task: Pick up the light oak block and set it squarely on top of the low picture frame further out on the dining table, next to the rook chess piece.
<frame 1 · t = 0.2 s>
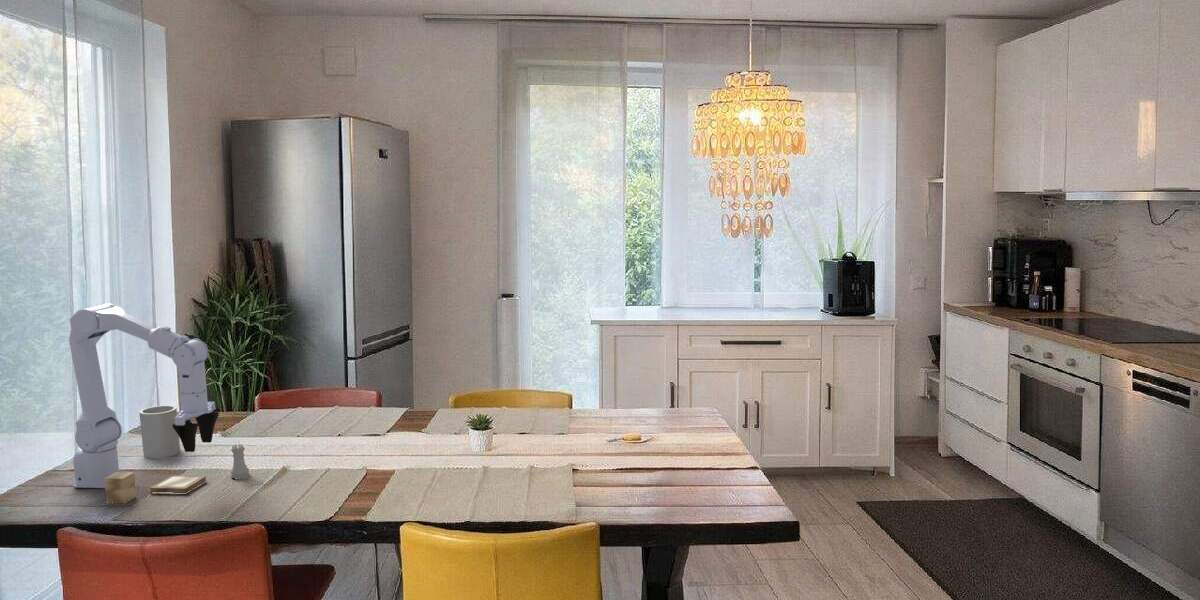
hand: (198, 446, 242), 10 cm above the table, tool pointing down, fingers open, 7 cm apart
rook chess piece: (240, 477, 250), on the table
oak block: (121, 500, 236), on the table
picture frame: (178, 487, 243), on the table
cup: (162, 453, 273), on the table
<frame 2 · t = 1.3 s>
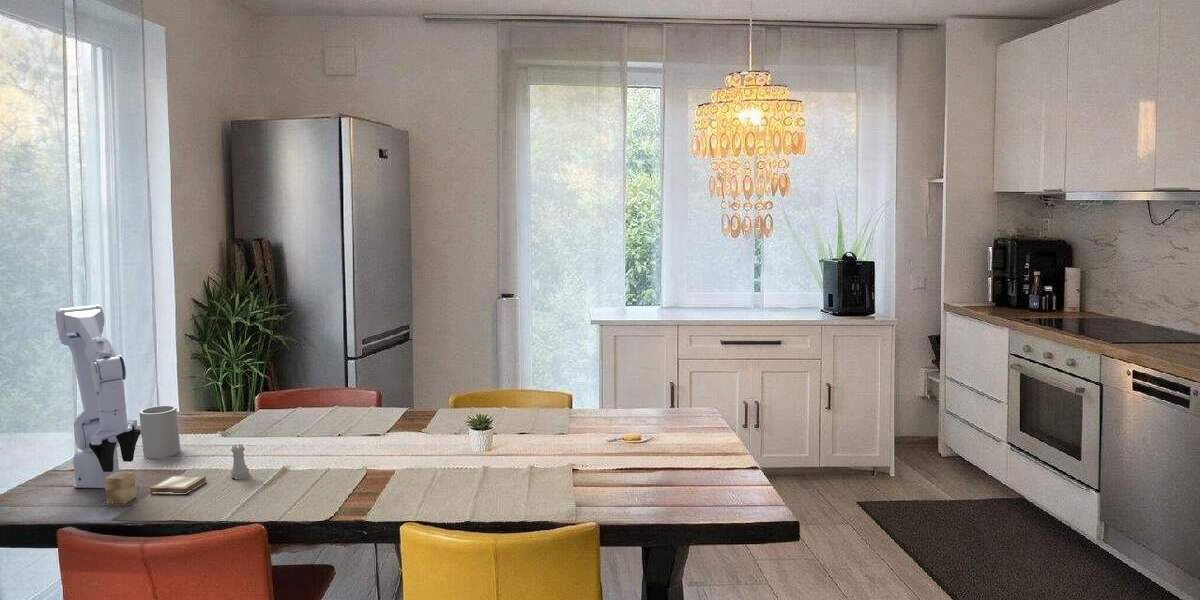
hand: (118, 466, 235), 8 cm above the table, tool pointing down, fingers open, 7 cm apart
nothing on the table moved.
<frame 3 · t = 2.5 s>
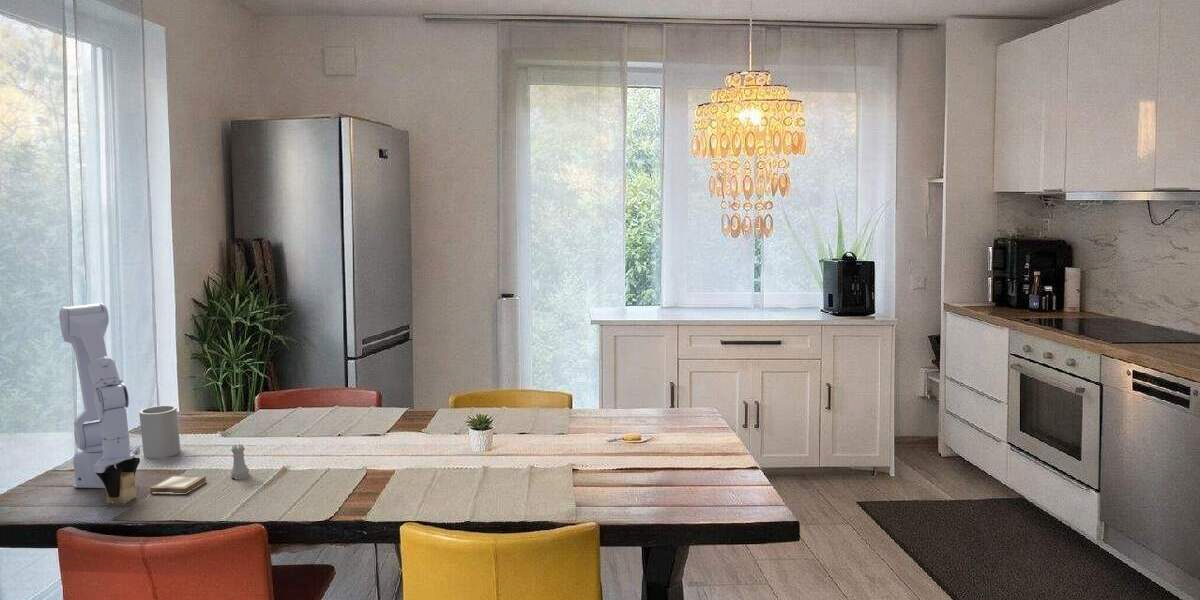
hand: (121, 493, 236), 2 cm above the table, tool pointing down, fingers closed on oak block, 4 cm apart
oak block: (121, 500, 236), on the table, touching gripper
everything else where it was.
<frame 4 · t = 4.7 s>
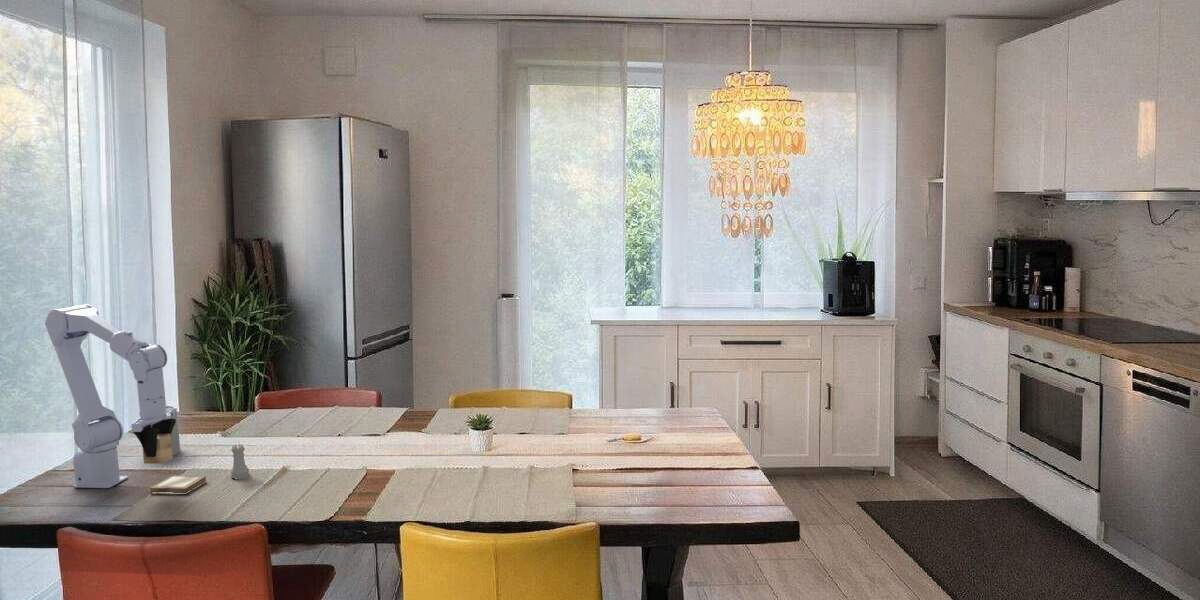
hand: (157, 453, 239), 9 cm above the table, tool pointing down, fingers closed on oak block, 4 cm apart
oak block: (158, 460, 240), point 8 cm above the table, touching gripper
everything else where it was.
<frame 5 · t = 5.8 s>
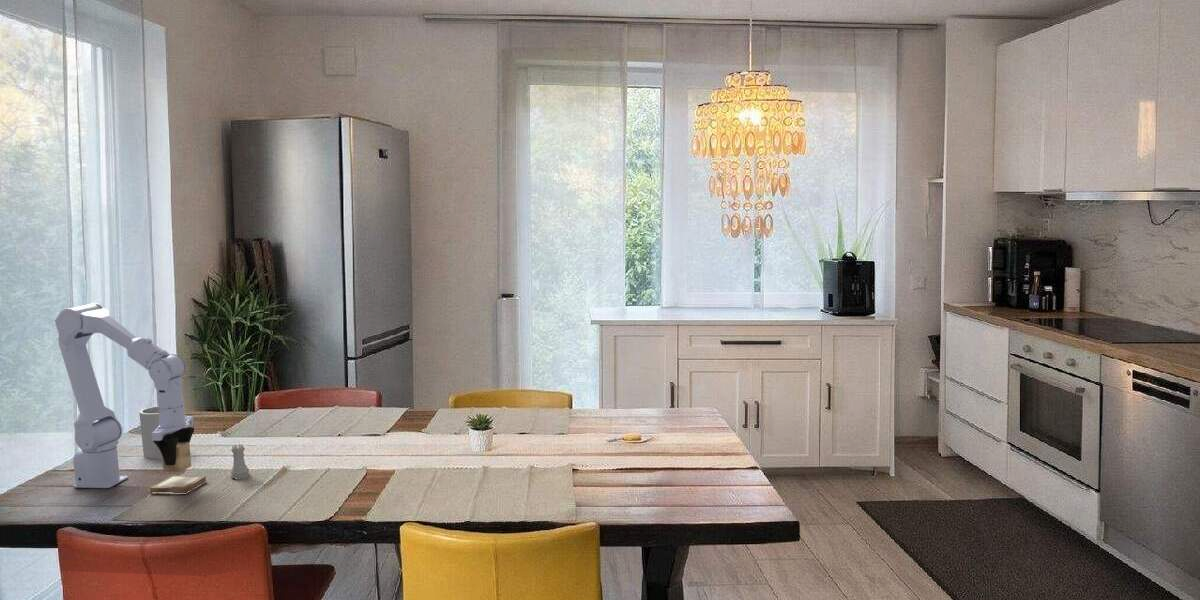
hand: (176, 461, 242), 7 cm above the table, tool pointing down, fingers closed on oak block, 4 cm apart
oak block: (177, 468, 242), point 5 cm above the table, touching gripper
everything else where it was.
when the fingers open (4 cm above the table, at t = 6.9 s): oak block stays where it is, resting on picture frame.
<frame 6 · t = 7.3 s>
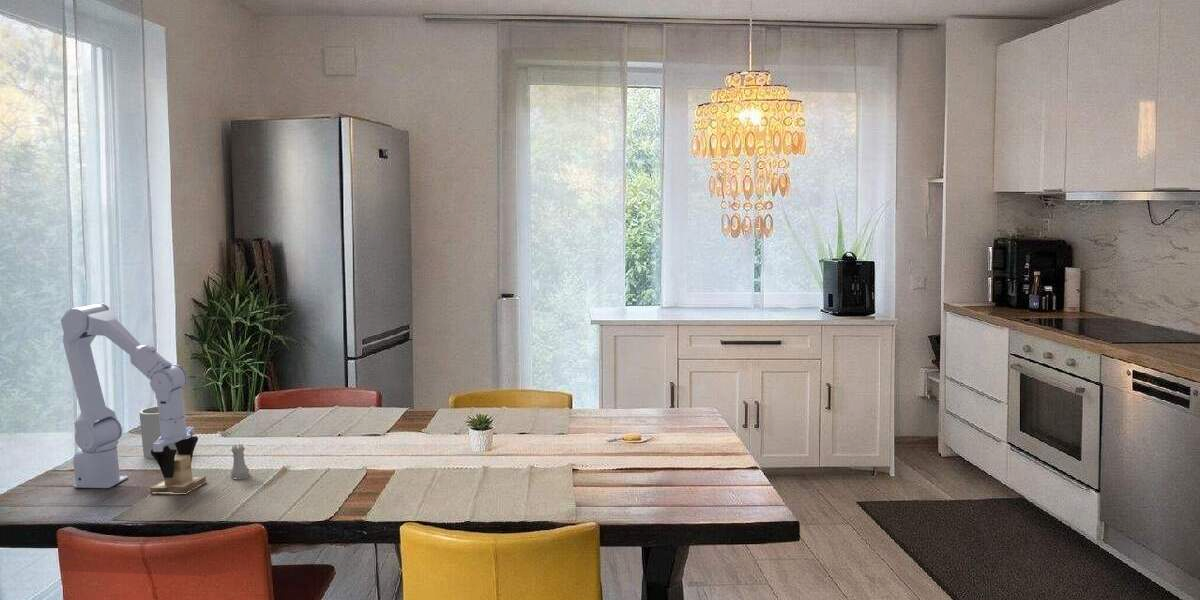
hand: (177, 472, 243), 4 cm above the table, tool pointing down, fingers open, 7 cm apart
oak block: (178, 481, 243), point 2 cm above the table, touching picture frame
everything else where it was.
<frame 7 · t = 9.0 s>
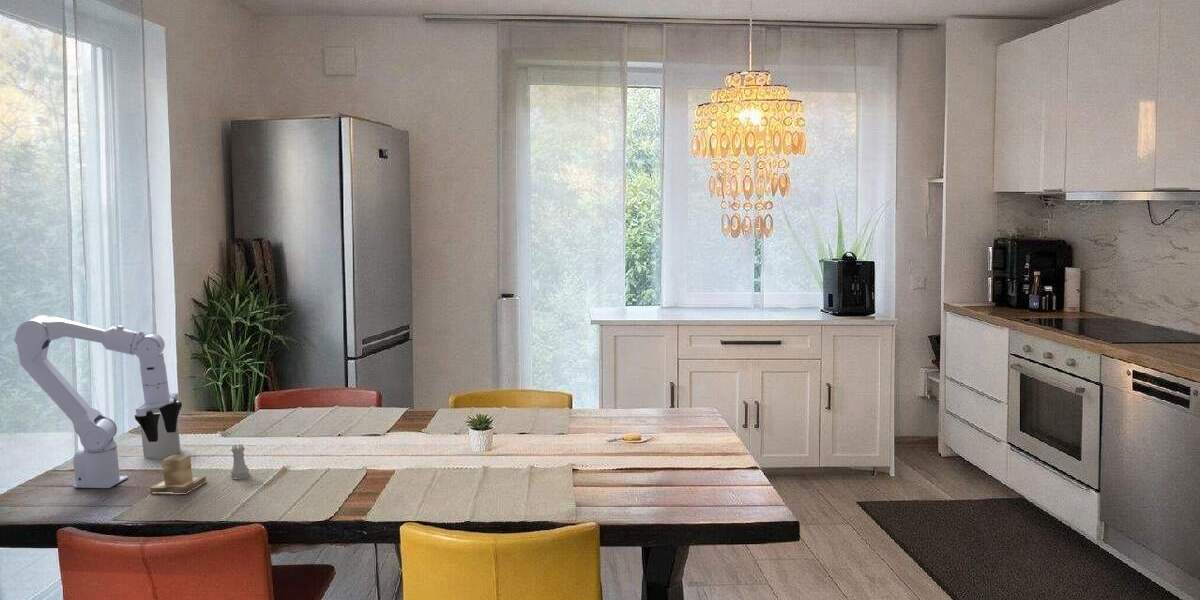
hand: (162, 436, 250), 10 cm above the table, tool pointing down, fingers open, 7 cm apart
nothing on the table moved.
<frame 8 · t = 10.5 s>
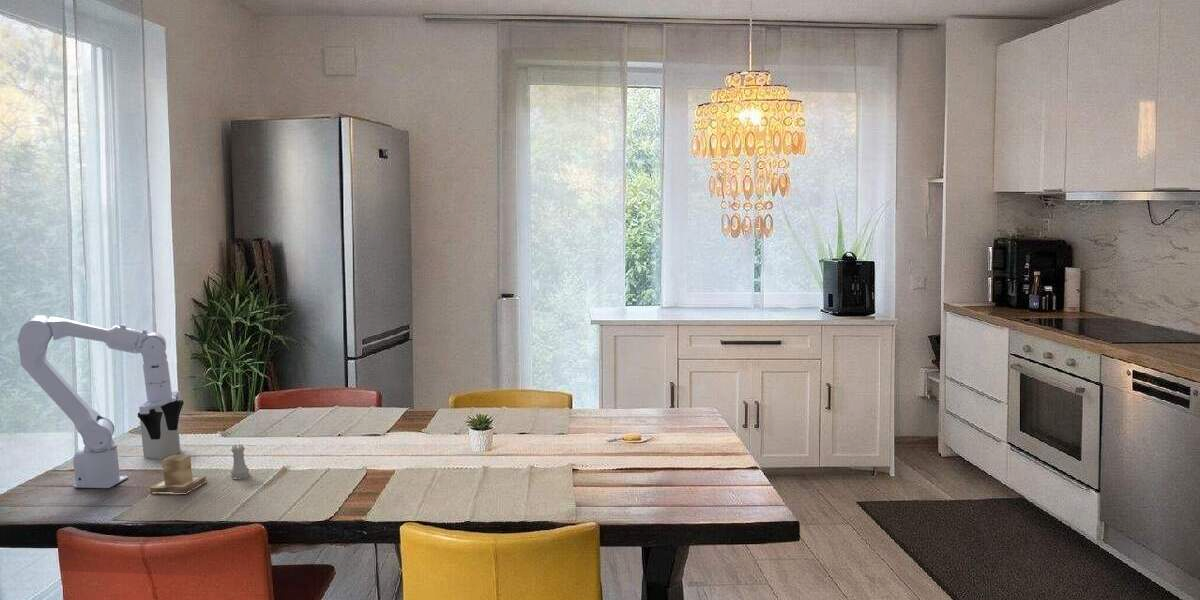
hand: (164, 434, 252), 10 cm above the table, tool pointing down, fingers open, 7 cm apart
nothing on the table moved.
at the end: oak block 0.1 cm off-centre on the picture frame, point 1.5 cm above the picture frame's base; oak block tilted 0°; the gripper is holding nothing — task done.
